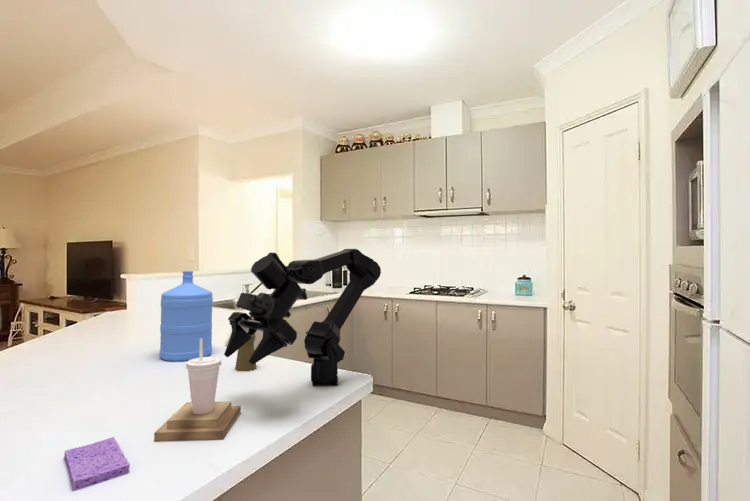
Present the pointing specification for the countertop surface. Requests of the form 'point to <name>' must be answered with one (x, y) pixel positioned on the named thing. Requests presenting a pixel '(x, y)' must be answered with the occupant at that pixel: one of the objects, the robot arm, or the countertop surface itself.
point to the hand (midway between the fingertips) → (237, 359)
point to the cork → (245, 356)
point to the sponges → (95, 463)
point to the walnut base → (198, 431)
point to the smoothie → (203, 381)
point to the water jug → (186, 321)
